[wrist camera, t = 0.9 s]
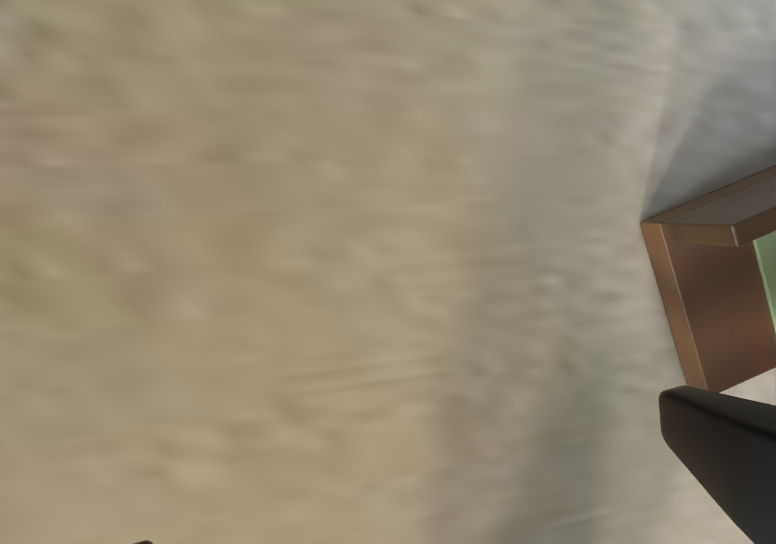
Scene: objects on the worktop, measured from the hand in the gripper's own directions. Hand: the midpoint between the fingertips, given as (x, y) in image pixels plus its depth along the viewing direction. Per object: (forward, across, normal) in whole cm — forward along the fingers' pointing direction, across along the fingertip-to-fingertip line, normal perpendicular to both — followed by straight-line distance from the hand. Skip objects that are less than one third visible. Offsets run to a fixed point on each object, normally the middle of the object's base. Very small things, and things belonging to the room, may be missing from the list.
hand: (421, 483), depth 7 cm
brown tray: (+14, -22, +5) cm, 26 cm away
